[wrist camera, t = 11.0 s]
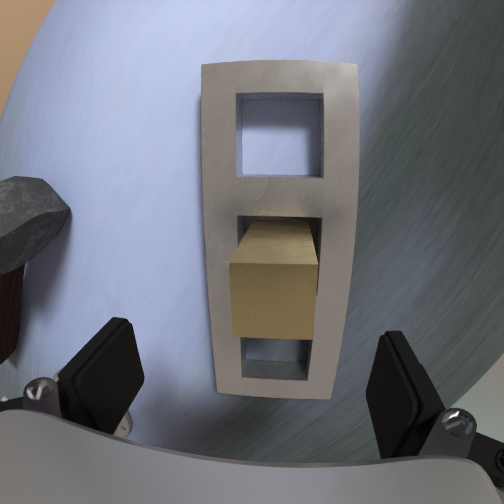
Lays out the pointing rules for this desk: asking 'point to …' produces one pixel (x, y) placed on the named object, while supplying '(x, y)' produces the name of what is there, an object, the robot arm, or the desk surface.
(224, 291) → the white flat frame
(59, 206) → the hammer
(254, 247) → the brass peg
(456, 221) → the desk surface
